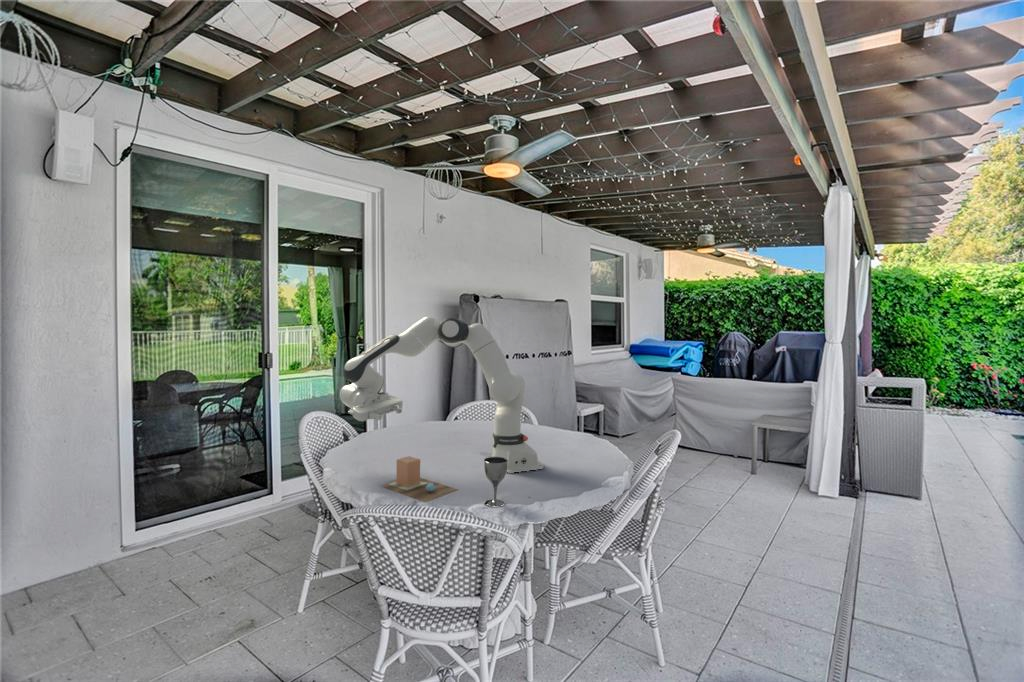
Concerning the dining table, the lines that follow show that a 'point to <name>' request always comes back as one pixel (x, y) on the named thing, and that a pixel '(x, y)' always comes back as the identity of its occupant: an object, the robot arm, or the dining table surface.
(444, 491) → the board
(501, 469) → the wine glass
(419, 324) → the robot arm
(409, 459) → the tall salmon pillar
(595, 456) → the dining table surface
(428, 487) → the ball
